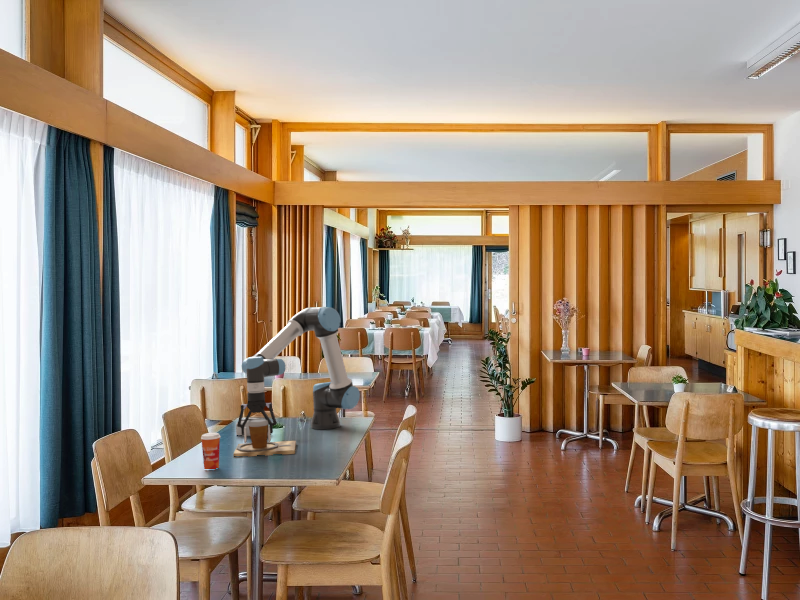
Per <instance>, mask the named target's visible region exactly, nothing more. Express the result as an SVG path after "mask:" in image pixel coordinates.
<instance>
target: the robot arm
mask: <svg viewBox="0 0 800 600" xmlns="http://www.w3.org/2000/svg"><path fill="white" fill-rule="evenodd" d="M341 322H342V321H341V316H340V313H339V312H338V311H337V309H336V308H334V307H328V306H320V307H319V306H317V307H313V306H311V307H306V308H304V309H302V310H301V311H299V312H298V313H296V314H294V315H293V316H292V317H291V318H290V319H289V320H288V321H287V323H286V326H284V327H283V328H282V329H281V330H280V331H279V332H278V333H277V334H276V335H274V337H272V338H271V339H270V340H269V342H267V343H266V344H265V345H264V346H263V347H261V349H260V350H259V351H258V352H256V353H255V354H254V355H253V356H250V357H247V358H245V359H244V360H243V361H242V362H241V370H242V372H243V373H244V374H245V375H246V385H247V386H246V389H247V390H246V391H247V395H246V396H247V403H246V404H245V403H241V405H240V413H239V416H238V419H237V422H238V424H237V423H236V424H237V427H241V431H242V435H244V436H243V437H244V439H243V440H244V443H243V444H245V443H248V442H247V437H248V436H247V435H246V427H244V426H245V424H246V422H247V421H248V419H249V418H251V417H250V416H251V415H252V414H256V413H258V414H259V413H260V414H262V415H263V418H265V419H266V420H268V437H267V440H268V442H272V441H271V438H272V437H271V434H273V433H274V426H276V425H277V418H276V416H275V413H274V409H273V403H272V402H266V396H265V394H266V393H265V378H267V377H275V376H280V375H283V374H284V373H285V371H286V362H285V361H284V359H282V358H277V357H278V356H279V355H280V353H282V352H283V350H285V349H286V348H287V347H288V346H289V345H290V344H291V343H292V342H293V341H295V339H297V338H298V337H300V336H302V335H303V334H304V333H306V332H310V331H311V332H312V331H313V332H314V336H315V338H317V339H318V340H319V342H320V344H321V346H320V347H321V350H322V353H323V356H324V360H325V364H326V368H327V372H328V375H329V380H330V381H329V382H328V381H327V382H320V383H315V384H314V385H313V388H312V389H313V390H312V399H313V400H312V401H313V414H312V418H311V422H310V428H311V429H314V430H333V429H337V428H340V427H341V421H340V418H339V415H338V413H337V409H341V410H353V409H354V408H355V407H356V406H357V405H358V403H359V401H360V398H361V395H360V394H361V393H360V389H359V388H358V387H356V386H354V384H353V382H352V379H350V378H349V377H348V372H347V369H346V366H345V363H344V359H343V355H342V351H341V347H340V344H339V341H338V340H339V339H338V336H337V335H338V333H339V328H340V326H341V324H340V323H341ZM265 407H267V409H268V411H269V414H270V416H271V419H270V417H269V416H268V414H267V412H266V411H265ZM246 408H247V409H248V410H249V411H248V413H247V415H246V416H245V418H246V419H245V418H244V419H245V420H244V422H243V424H241V420H242V419H243V416H244V412H245V409H246Z"/></svg>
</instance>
